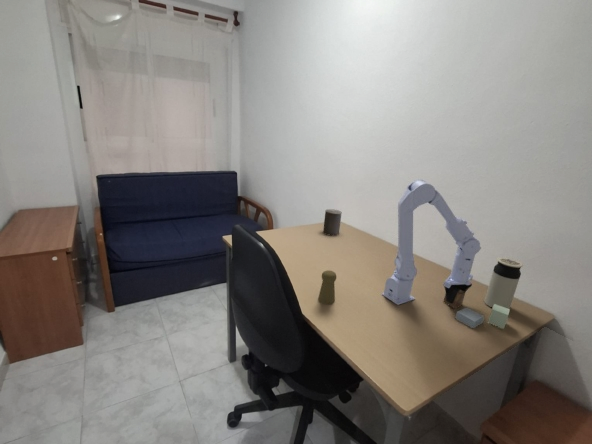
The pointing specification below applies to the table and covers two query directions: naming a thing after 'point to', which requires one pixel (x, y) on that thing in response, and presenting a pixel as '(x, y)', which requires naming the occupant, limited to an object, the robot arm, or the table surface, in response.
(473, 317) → the slate slab
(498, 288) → the travel mug
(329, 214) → the pillar candle
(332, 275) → the olive pawn
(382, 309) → the table surface
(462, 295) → the walnut block
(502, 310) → the sage block
